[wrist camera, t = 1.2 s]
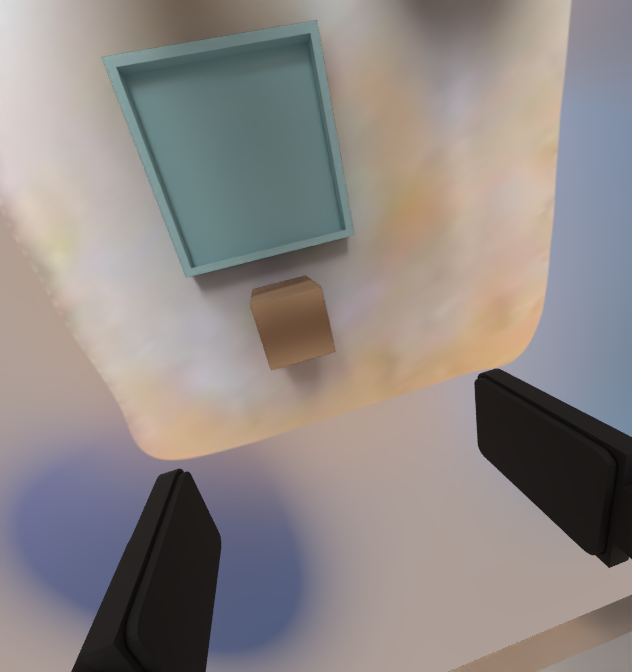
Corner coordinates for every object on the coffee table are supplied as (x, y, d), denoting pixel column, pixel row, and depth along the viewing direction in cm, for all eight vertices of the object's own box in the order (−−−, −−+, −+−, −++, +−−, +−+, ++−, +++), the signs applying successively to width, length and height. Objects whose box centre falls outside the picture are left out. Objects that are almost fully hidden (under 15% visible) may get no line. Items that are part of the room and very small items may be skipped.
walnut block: (252, 289, 26) (250, 306, 20) (305, 275, 27) (321, 286, 20) (267, 340, 28) (270, 370, 21) (317, 326, 29) (335, 351, 22)
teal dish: (116, 73, 20) (101, 56, 18) (311, 39, 22) (316, 19, 20) (191, 274, 25) (186, 277, 23) (347, 235, 26) (354, 235, 24)
